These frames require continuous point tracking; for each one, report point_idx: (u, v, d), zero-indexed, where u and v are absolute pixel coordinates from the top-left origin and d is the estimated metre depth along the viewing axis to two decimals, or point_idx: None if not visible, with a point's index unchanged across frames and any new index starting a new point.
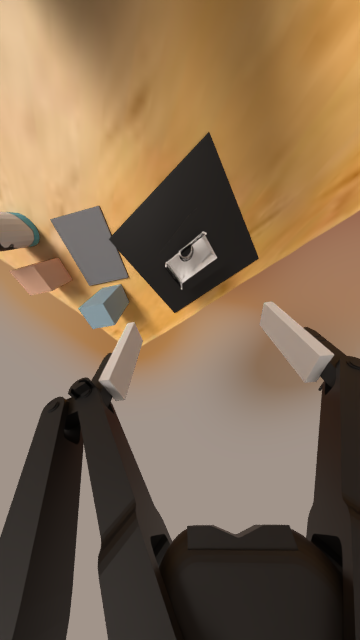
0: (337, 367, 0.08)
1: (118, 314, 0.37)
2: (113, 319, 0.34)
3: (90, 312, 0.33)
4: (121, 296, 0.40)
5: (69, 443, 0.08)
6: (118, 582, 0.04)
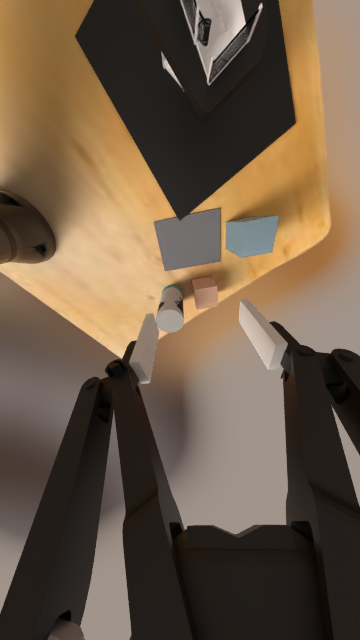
0: (290, 356, 0.09)
1: (264, 216, 0.28)
2: (270, 216, 0.25)
3: (250, 244, 0.27)
4: (240, 219, 0.33)
5: (100, 422, 0.08)
6: (139, 554, 0.04)
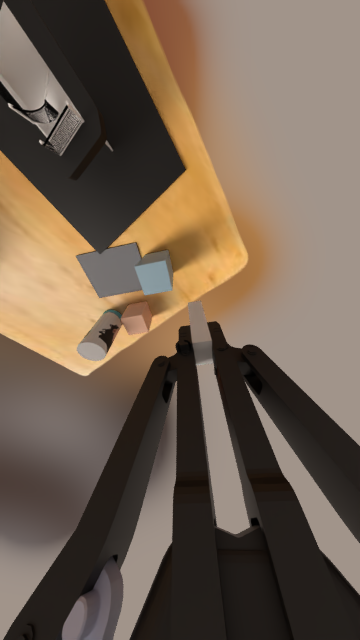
0: (214, 354, 0.10)
1: (162, 257, 0.29)
2: (159, 260, 0.27)
3: (148, 284, 0.29)
4: (154, 254, 0.34)
5: (162, 401, 0.09)
6: (186, 526, 0.04)
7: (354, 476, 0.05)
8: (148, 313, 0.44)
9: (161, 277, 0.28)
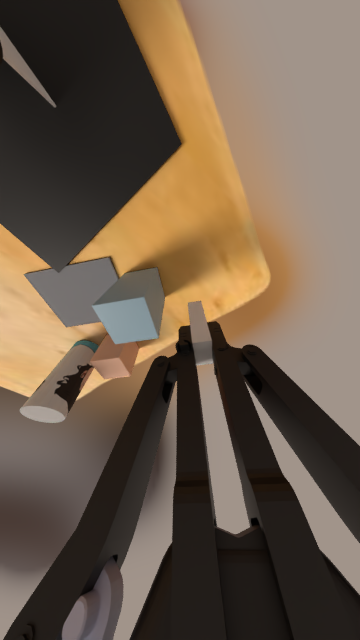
0: (214, 354, 0.10)
1: (143, 286, 0.18)
2: (134, 296, 0.16)
3: (119, 330, 0.18)
4: (135, 275, 0.23)
5: (162, 401, 0.09)
6: (186, 526, 0.04)
7: (354, 476, 0.05)
8: (132, 347, 0.33)
9: (139, 321, 0.17)
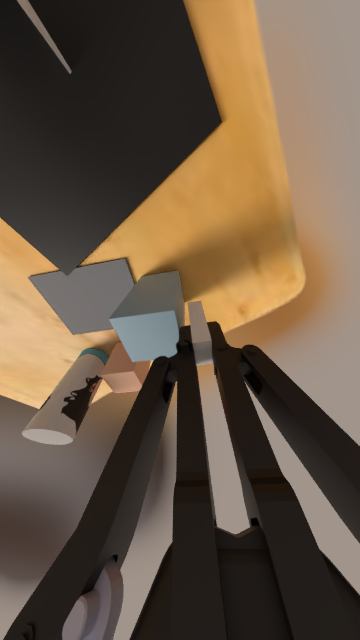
0: (214, 354, 0.10)
1: (169, 294, 0.15)
2: (160, 308, 0.13)
3: (139, 347, 0.15)
4: (154, 279, 0.20)
5: (163, 401, 0.09)
6: (186, 526, 0.04)
7: (354, 476, 0.05)
8: None
9: (164, 337, 0.14)
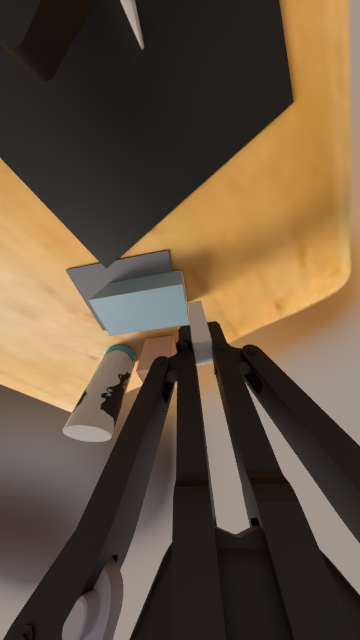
0: (214, 354, 0.10)
1: (116, 293, 0.18)
2: (97, 295, 0.19)
3: None
4: (163, 278, 0.20)
5: (162, 401, 0.09)
6: (186, 526, 0.04)
7: (354, 476, 0.05)
8: None
9: None
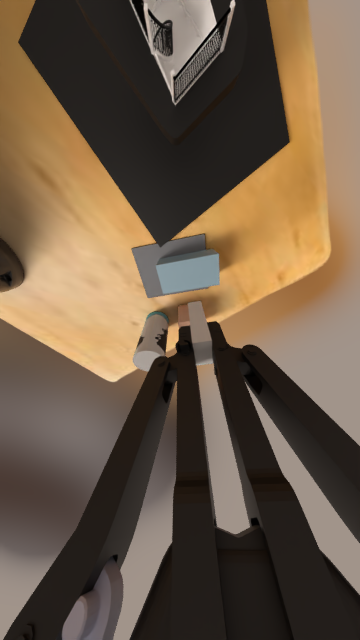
0: (214, 354, 0.10)
1: (173, 261, 0.27)
2: (159, 263, 0.28)
3: None
4: (202, 253, 0.29)
5: (163, 401, 0.09)
6: (186, 526, 0.04)
7: (354, 476, 0.05)
8: None
9: None
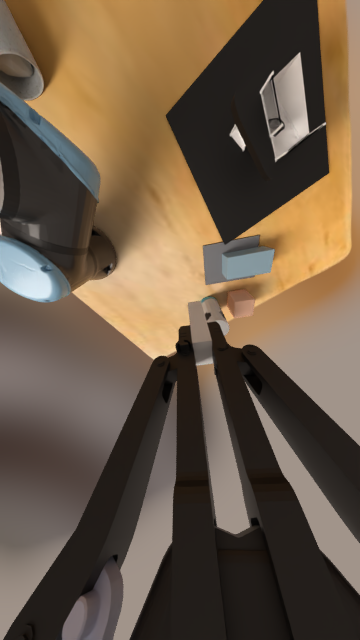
0: (214, 354, 0.10)
1: (239, 254, 0.38)
2: (228, 256, 0.39)
3: (223, 268, 0.43)
4: (258, 249, 0.39)
5: (162, 401, 0.09)
6: (186, 526, 0.04)
7: (354, 476, 0.05)
8: None
9: (225, 267, 0.41)
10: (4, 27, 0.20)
